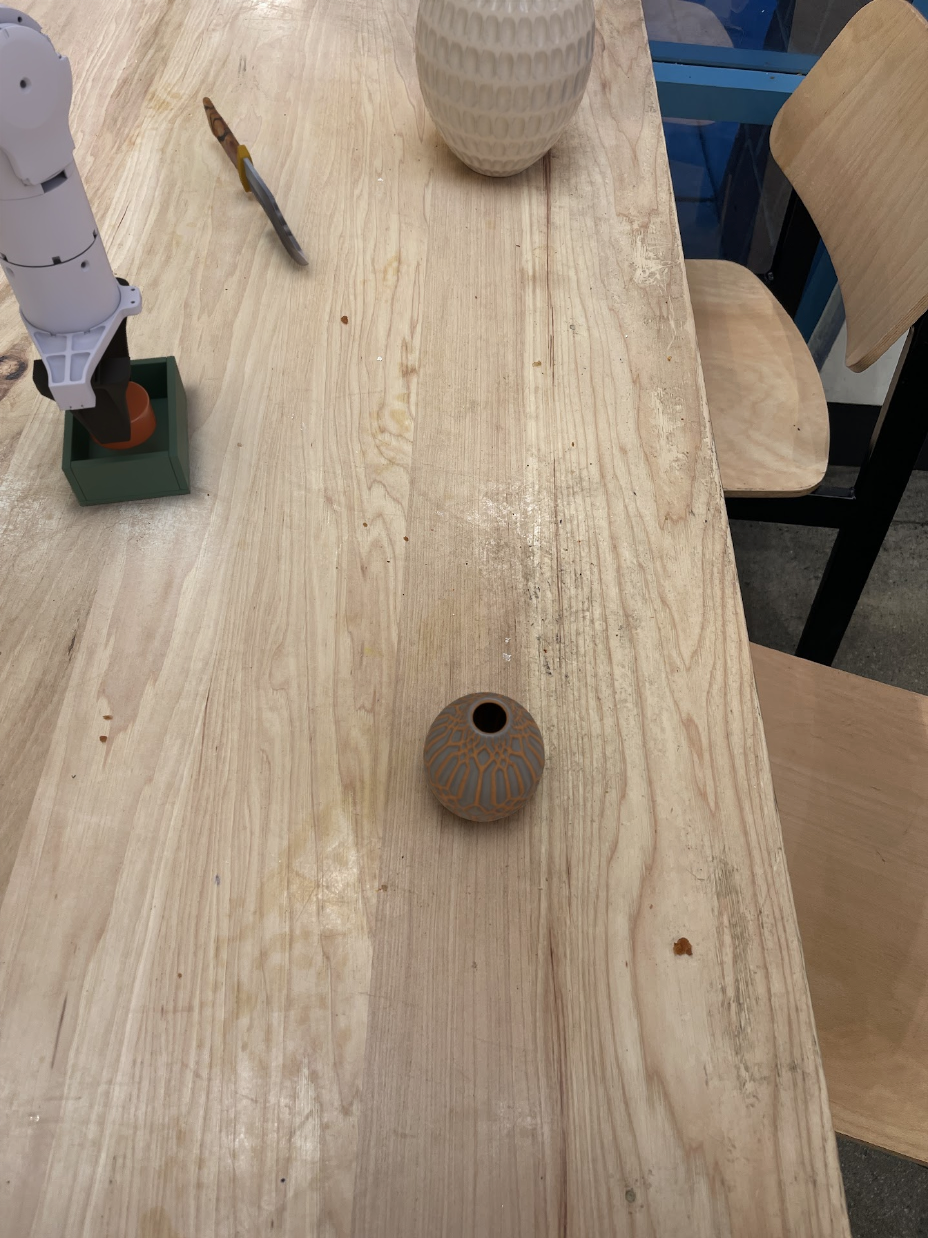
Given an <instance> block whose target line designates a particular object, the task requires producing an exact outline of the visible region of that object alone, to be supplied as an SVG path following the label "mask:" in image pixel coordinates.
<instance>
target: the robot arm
mask: <svg viewBox="0 0 928 1238" xmlns="http://www.w3.org/2000/svg"><path fill="white" fill-rule="evenodd" d="M42 30H43V27H42V26H41V25H40V23H38V21H37V20H35V19H34V18H33V17H31V16H30V15H29V14H27V13H25V12H23V11H21V10H19V9H17V8H14V7H12V6H9V5H7V4H6V3H5V4H4V3H2V2H0V266H1V269H2V271H3V273H4V275H5V278H6V280H7V282H8V284H9V286H10V288H11V290H12V293H13V295H14V297H15V299H16V301H17V305H18V313H19V316H20V319H21V320H22V323H23V325H24V328H25V329H26V331H27V333H28V335H29V337H30V339H31V341H32V343H33V345H34V348H35V349H36V351H37V353H38V355H39V357H40V358H39V359H38V358H37V359H34V360H33V365H32V376H31V378H32V382H33V384H34V386H35V388H36V389H37V391H38V393H39V394H40V395H41V396H42V397H45V398H47V399H48V400H51V401H53V402H55V404H56V405H57V407H58V410H59V411H65V410H69V411H70V412H71V413H72V414H73V415H74V416H75V417H76V418H77V419H78V420H79V421H80V422H81V423H82V424H83V425H84V426H85V428H86V429H87V430H88V431H89V432H90V433H91V434H92V435H93V437H94V438H95V439H96V440H97V441H98V442H99V443H100V444H108V443H117V442H127V441H130V440H131V422H130V415H129V410H128V405H127V399H126V390H127V388H128V384H129V381H131V366H130V360H131V356H130V351H129V344H128V336H127V335H128V334H127V324H128V317H133V316H134V317H135V316H138V315H140V314H141V313H142V311H143V295H142V293H141V289H140V288H139V286H137V285H131V284H130V282H129V281H128V280H127V279H125V278H123V277H118V276H115V274H114V272H113V269H112V266H111V263H110V260H109V257H108V254H107V251H106V249H105V245H104V242H103V238H102V236H101V233H100V230H99V227H98V224H97V222H96V218H95V215H94V212H93V210H92V206H91V203H90V200H89V198H88V194H87V192H86V189H85V186H84V183H83V180H82V177H81V174H80V171H79V168H78V165H77V162H76V160H75V157H74V153H73V151H74V150H75V149H76V144H75V142H74V138H73V136H72V133H71V129H70V118H69V117H70V116H69V115H70V109H71V106H72V100H73V90H74V89H73V86H74V85H73V83H74V81H73V72H72V67H71V63H70V59H69V56H67V55H62V54H61V53H59V52H57V51H56V49H55V46H54V44H53V42H52V41H51V38H50V36H49V35H48V34H45V33H43V32H42Z"/></svg>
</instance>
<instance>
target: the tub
mask: <svg viewBox="0 0 928 1238" xmlns="http://www.w3.org/2000/svg"><path fill="white" fill-rule="evenodd" d="M130 366H131V382H134V383H136V384H138V385H140V386H141V387H143V388H144V389H145V390H146V392H147V394H148V396H149V399H150V402H151V404H152V407H153V410H154V413H155V416H156V420H157V423H156V428H155V430H154V432H153V434H152V435H151V436H150V437H149V438H148V439H147V440H146V441H145V442H143V443H141V444H140V445H137V446H135V447H132V448H128V449H121V450H115V449H108V448H105V447H102V446H100V445H99V444H97V443H96V442H95V441H94V440H93V439H92V437H91V435H90V433H89V431H88V430H87V429H86V428H85V426H84V425H83V424H82V423H81V422H80V421H79V420H78V419H77V418H76V417H75V416H74V415H73V414H72V413H71V412H70V411H69V410H64V422H63V437H62V438H63V440H62V455H61V456H62V457H61V471H62V472H63V474H64V477H65V479H66V480H67V482H68V485H69V486H70V488H71V490H72V493H73V494H74V497H75V498H76V501H77V502H78V504H79V506H80V507H86V506H94V505H95V506H96V505H103V504H110V503H111V504H112V503H120V502H129V501H135V500H145V499H155V498H163V497H172V496H180V495H187V494H191V480H190V479H191V478H190V458H189V457H190V453H189V452H190V451H189V427H188V426H189V425H188V408H187V407H188V405H187V403H188V402H187V393H186V390H185V387H184V383H183V380H182V376H181V372H180V369H179V366H178V363H177V359H176V356H175V355H168V356H157V357H147V358H135V359H130Z"/></svg>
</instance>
